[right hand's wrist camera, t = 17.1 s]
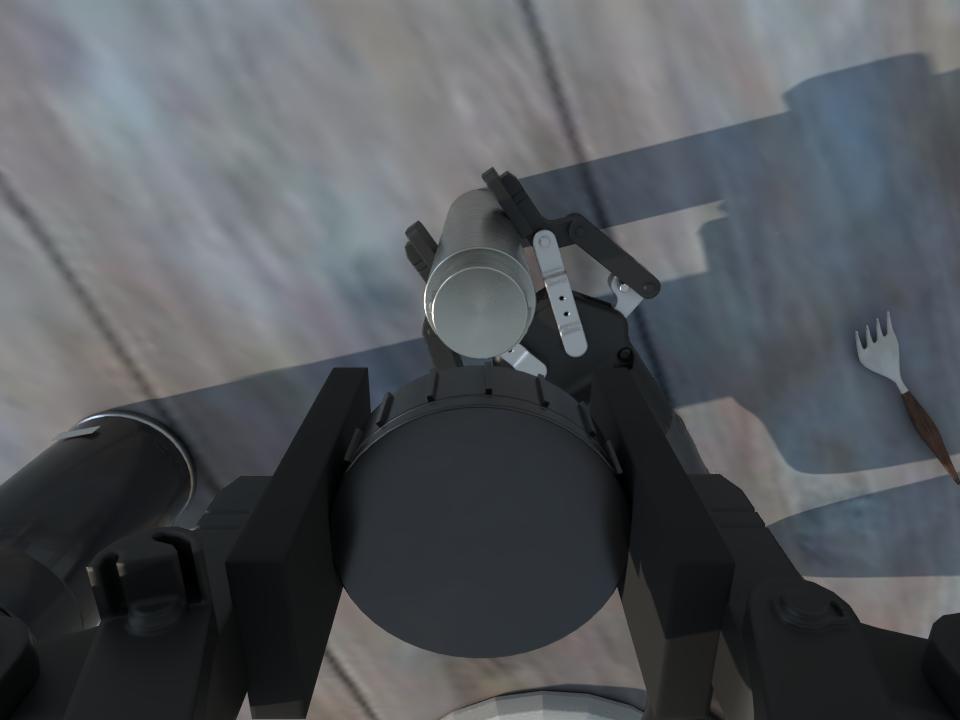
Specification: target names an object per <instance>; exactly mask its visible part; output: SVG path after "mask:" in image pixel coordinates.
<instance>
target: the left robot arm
mask: <svg viewBox="0 0 960 720" xmlns="http://www.w3.org/2000/svg"><path fill="white" fill-rule="evenodd" d="M482 178H483V180H484V182H485V183H486V185H487V186H488V188H489V189H490V191H491V192H492V194H493V195H494V197H495V198H496V200H497V201H498V203H499V204H500V206H501V207H502V209H503V210H504V212H505V213H506V215H507V216H508V218H509V219H510V221H511V222H512V223H513V224H514V226H515V228H516V230H517V231H518V233H519V234H520V236H521V237H522V239H524V238H526V237H527V239H528V240H529V242H530V243H531V245H532V246H533V249H534V252H535V255H536V258H537V262H538V265H539V269H540V272H541V275H542V279H543V282H544V285H545V287H544V288H543V289H541V290H540V291H538V292H537V293H536V309H535V314H534V317H533V320H532V322H531V325H530V326H529V328H528V330H527V333H526V334H525V335H524V337H523V338H522V340H521V342H520V343H518V344H517V345H516V346H515V347H514V348H513V349H512V350H510V351H508V352H506V353H504V354H502V355H500V356H495V357H493V366H496V367H506V368H510V369H514V370H519V371H523V372H526V373H529V374H532V375H534V376H537V375H538V374H542V375H544V378H545V380H546V381H548V382H550V383H552V384H554V385H556V386H557V387H559V388H560V389H562V390H563V391H565V392H566V393H568V394H569V395H570V396H572V397H573V398H574V399H575V400H576V401H577V402H578V403H581V402H582V401H583V402H584V403H585V404H586V405H587V408H588V411H589V413H590V400H591V385H592V370H593V368H627V369H628V370H629V372H630V374H631V376H632V378H633V379H634V381H635V383H636V385H637V387H638V388H639V390H640V392H641V394H642V395H643V397H644V399H645V401H646V403H647V404H648V406H649V408H650V410H651V412H652V413H653V415H654V417H655V419H656V421H657V422H658V424H659V426H660V428H661V429H662V431H663V433H664V435H665V437H666V438H667V440H668V442H669V444H670V446H671V447H672V449H673V451H674V453H675V455H676V456H677V458H678V460H679V462H680V463H681V465H682V467H683V469H684V471H685V472H686V474H710V473H709V471H708V470H707V468H706V467H705V465H704V463H703V461H702V459H701V457H700V455H699V453H698V450H697V448H696V446H695V443H694V441H693V439H692V437H691V436H690V434H689V432H688V431H687V429H686V427H685V424H684V422H683V420H682V419H681V417H680V416H678V414H676V412H675V411H674V409H673V407H672V406H671V404H670V403H669V401H668V400H667V399H666V397H665V395H664V394H663V392H662V390H661V389H660V387H659V386H658V384H657V383H656V381H655V380H654V378H653V377H652V375H651V373H650V372H649V370H648V369H647V367H646V366H645V364H644V363H643V361H642V360H641V358H640V356H639V355H638V353H637V352H636V350H635V349H634V347H633V346H632V344H631V343H630V340H629V336H628V323H627V320H626V318H627V317H628V316H629V315H630V314H631V312H632V311H633V310H634V309H635V308H636V307H637V306H638V305H639V304H640V302H641V301H642V300H643V299H644V298H646V299H650V298H653V297H655V296H656V295H657V294H658V293H659V291H660V282H659V281H658V279H657V278H655V276H653V275H652V274H651V273H650V272H649V271H648V270H647V269H646V268H645V267H644V266H643V265H641V264H640V263H639V262H638V261H637V260H635V259H634V258H633V257H632V256H630V255H629V254H628V253H627V252H626V251H624V250H623V249H622V248H621V247H619V246H618V245H617V244H616V243H615V242H613V241H612V240H611V239H610V238H609V237H607V236H606V235H605V234H604V233H602V232H601V231H600V230H599V229H598V228H596V227H595V226H594V225H593V224H592V223H590V222H589V221H588V220H587V219H585V218H584V217H583V216H582V215H580V214H578V213H571V214H569V215H567V216H566V217H565V218H561V219H557V220H547V219H545V218H543V217H542V216H541V215H540V213H539V212H538V210H537V209H536V207H535V206H534V204H533V203H532V201H531V200H530V198H529V197H528V195H527V193H526V192H525V190H524V189H523V187H522V186H521V184H520V183H519V181H518V180H517V178H516V177H515V176H514V175H512V174H511V173H510V172H508V171H506V172H505V173H503V174H502V175H501V176H499V175H498V174H497V172H496V171H495V169H494V168H493V167H492V168H490V169H489V170H488V171H486V172H485V173H483V174H482ZM405 234H406V236H407V238H408V239H409V241H408V242H407V244H406V246H405V251H406V255H407V258H408V259H409V261H410V262H411V263H412V265H413V266H414V267H415V269H416V270H417V271H418V272H419V274H420V275H421V277H422V278H423V279H424V281H425V282H426V283H427V281H428V278H429V274H430V271H431V268H432V264H433V261H434V258H435V254H436V251H437V248H438V245H437V244H436V242H435V241H434V240H433V238H432V237H431V235H430V234H429V233H428V231H427V230H426V229H425V227H424V226H423V225H422V223H421V222H420V221H417V222H416V223H414V224H413V225H411V226H410V227H409V228H408V229H407V230H406V232H405ZM572 244H577V245H578V246H579V247H581V248H582V249H583V250H584V251H585V252H587V253H588V254H589V255H590V256H592V257H593V258H594V259H595V260H597V261H598V262H599V263H600V264H602V265H603V266H604V267H605V268H607V269H608V270H609V271H610V272H611V274H610V276H609V278H608V285H609V287H610V288H611V290H612V291H613V293H614V299H613V302H612V303H611V304H610V303H607V302H604V301H602V300H599V299H596V298H593V297H590V296H587V295H584V294H581V293H579V292H576V291H573V290H571V287H570V283H569V280H568V277H567V274H566V271H565V268H564V265H563V261H562V258H561V254H560V251H559V248H561V247H564V246H568V245H572ZM422 335H423V337H424V340H425V343H426V346H427V348H428V351H429V354H430V357H431V359H432V362H433V365H434V368H437V371H442V370H446V369H449V368H456V367H464V366H463V363H462V360H461V358H460V355H459V354H458V353H456V352H454V351H453V350H451V349H450V348H448V347H447V346H446V345H445V344H444V343H443V342H442V341H441V339H440V338H439V337H438V336H437V335H436V334H435V332H434V331H433V329H432V328H431V326H430V324H429V322H428V320H427V317H426V316H425V320H424V324H423V328H422ZM57 439H60V440H58V441H57V442H56V443H54V444H53V445H52V446H51V447H49V448H48V449H46V450H45V451H44V452H42V453H41V454H40V455H39V456H37V457H36V458H35V459H34V460H32V461H31V462H30V463H29V464H27V465H26V466H25V467H23V468H22V469H21V470H20V471H18V472H17V473H16V474H15V475H13V476H12V477H11V478H10V479H8V480H7V481H6V482H4V483H3V484H2V485H1V486H0V615H2V616H8V617H15V618H19V619H20V620H21V621H22V622H24V623H25V624H26V625H27V626H28V627H29V630H30V633H31V636H32V639H33V642H35V641H39V640H44V639H48V638H52V637H57V636H61V635H66V634H70V633H74V632H79V631H83V630H86V629H90V628H93V627H96V625H97V624H98V623H99V621H100V620H101V619H100V615H99V612H98V608H97V604H96V601H95V597H94V593H93V590H92V586H91V582H90V579H89V575H88V571H87V568H86V567H87V566H88V565H89V563H90V562H91V561H92V559H93V558H94V557H95V556H96V554H97V553H99V552H100V551H101V550H103V549H104V548H106V547H107V546H108V545H110V544H111V543H113V542H114V541H116V540H119V539H121V538H123V537H125V536H128V535H130V534H132V533H134V532H139V531H143V530H147V529H151V528H155V527H170V526H171V525H172V523H173V522H174V521H175V519H176V518H177V517H178V516H179V515H180V514H181V513H182V512H183V511H184V509H185V508H186V507H187V505H188V504H189V502H190V501H191V499H192V497H193V494H194V491H195V487H196V471H195V466H194V463H193V460H192V457H191V455H190V453H189V451H188V450H187V448H186V447H185V445H184V444H183V443H182V441H181V440H180V439H179V438H178V437H177V436H176V435H175V434H174V433H173V432H172V431H171V430H169V429H168V428H167V427H165V426H164V425H162V424H161V423H159V422H157V421H156V420H154V419H151V418H149V417H147V416H144V415H141V414H138V413H134V412H129V411H117V410H114V411H104V412H99V413H96V414H93V415H90V416H88V417H86V418H84V419H83V420H81V421H80V422H78V423H77V424H76V425H75V426H73V427H72V428H71V429H70V430H69V431H68V432H64V433H60V434H59V435H58V436H56V437H55V438H54V439H52V440H57ZM52 440H51V441H52ZM797 572H798V571H797ZM798 573H799V572H798ZM799 575H800V576H801V574H800V573H799ZM801 577H802V576H801ZM802 579H803V580H805V579H804V578H803V577H802ZM641 720H725V716H724V714H723V711H722V709H721V706H720V704H719V701H718V699H717V696H716V694H715V691H714V689H713V695H712V700H711V706H710V712H709V717H708V719H655V718H654V714H653V711H652V707H651V704H650V700H649V697H648V695H647V703H646V708H645V711H644V714H643V716H642V718H641Z"/></svg>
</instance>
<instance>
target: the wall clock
mask: <svg viewBox="0 0 960 720" xmlns="http://www.w3.org/2000/svg"><path fill="white" fill-rule="evenodd" d="M643 714H644V712H642V711H640V710H638V709H636V708H635V707H633V706H631V705H627V704H623V703H620V702H616V701H613V700H609V699H605V698H602V697H598V696H594V695H591V694H583V693H567V692H551V691H537V692H530V693H522V694H514V695H507V696H499V697H494V698H491V699H488V700H485V701H482V702H480V703H477V704H474V705H471V706H468V707H465V708H462V709H459V710H457V711H454V712H452V713H450V714H449V715H447V716H446V717H444V718H442V719H441V720H641V718H642V716H643Z"/></svg>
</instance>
